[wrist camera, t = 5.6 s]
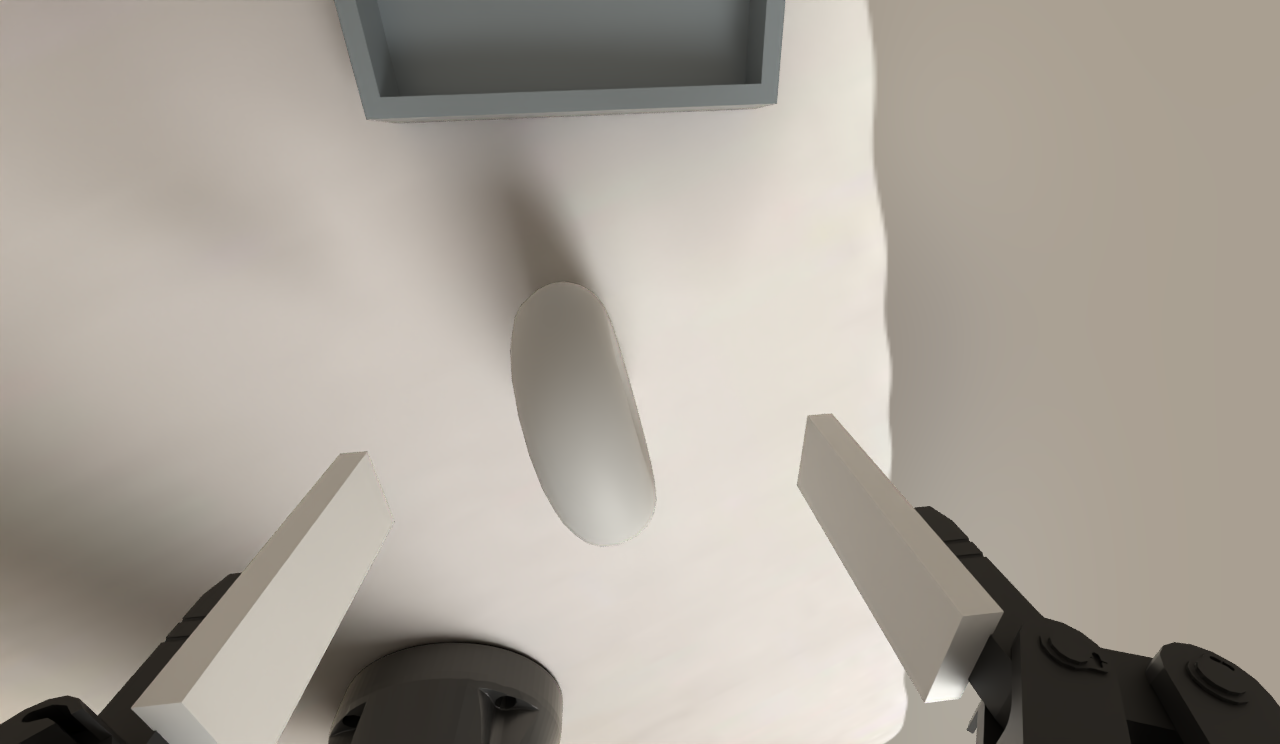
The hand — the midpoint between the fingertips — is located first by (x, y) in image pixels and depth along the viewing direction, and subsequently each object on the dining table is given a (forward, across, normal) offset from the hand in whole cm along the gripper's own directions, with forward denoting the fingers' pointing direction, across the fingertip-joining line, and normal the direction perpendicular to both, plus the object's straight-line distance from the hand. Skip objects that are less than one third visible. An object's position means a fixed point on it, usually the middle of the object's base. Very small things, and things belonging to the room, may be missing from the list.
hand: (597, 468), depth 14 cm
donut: (+9, 0, 0) cm, 9 cm away
